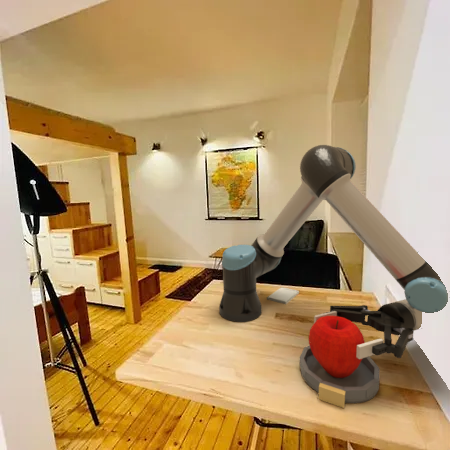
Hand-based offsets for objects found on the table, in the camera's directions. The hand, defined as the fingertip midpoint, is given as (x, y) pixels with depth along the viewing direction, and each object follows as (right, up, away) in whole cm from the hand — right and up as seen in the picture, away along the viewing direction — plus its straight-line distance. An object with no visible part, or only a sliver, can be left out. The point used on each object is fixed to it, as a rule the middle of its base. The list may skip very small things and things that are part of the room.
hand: (334, 335), depth 62 cm
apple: (+1, -10, +2) cm, 10 cm away
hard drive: (-1, -4, +47) cm, 47 cm away
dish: (+2, -10, +2) cm, 11 cm away
